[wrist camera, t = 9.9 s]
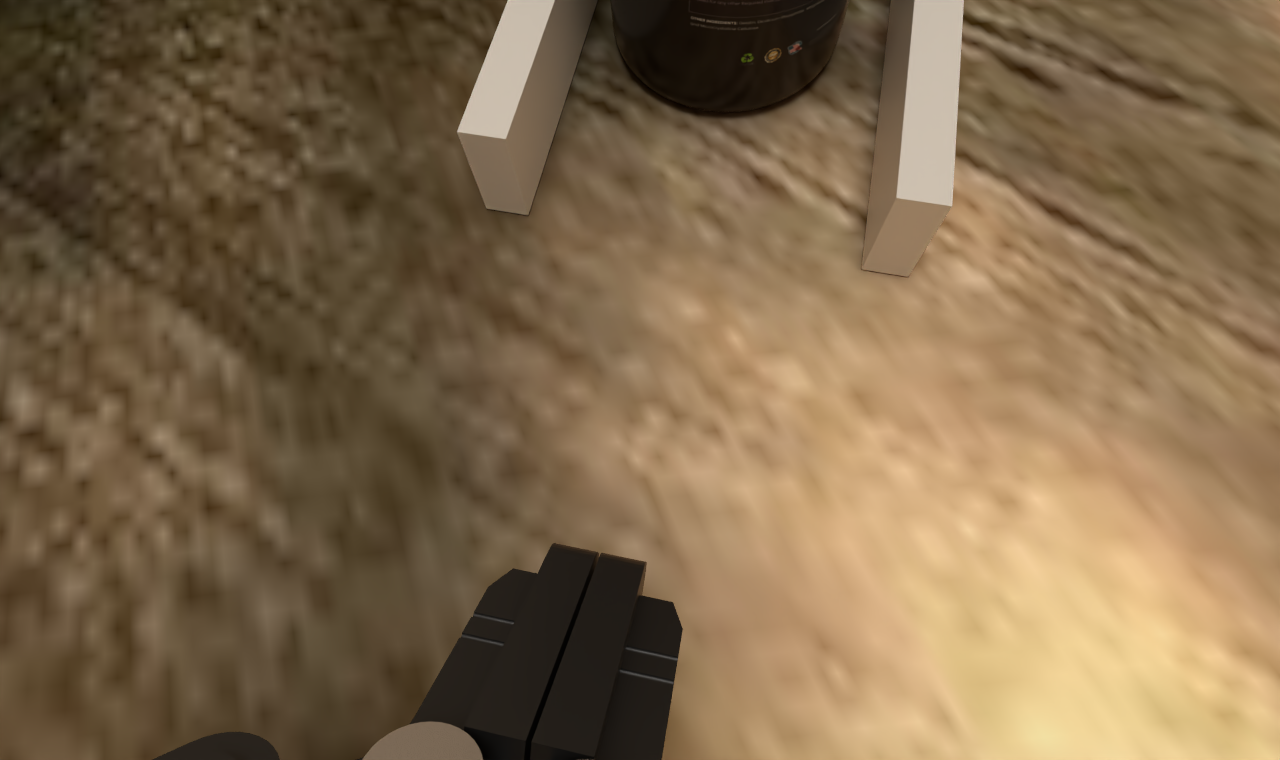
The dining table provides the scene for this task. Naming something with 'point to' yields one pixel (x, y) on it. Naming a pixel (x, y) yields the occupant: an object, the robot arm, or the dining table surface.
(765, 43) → the supplement bottle
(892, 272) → the holder
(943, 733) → the dining table surface
